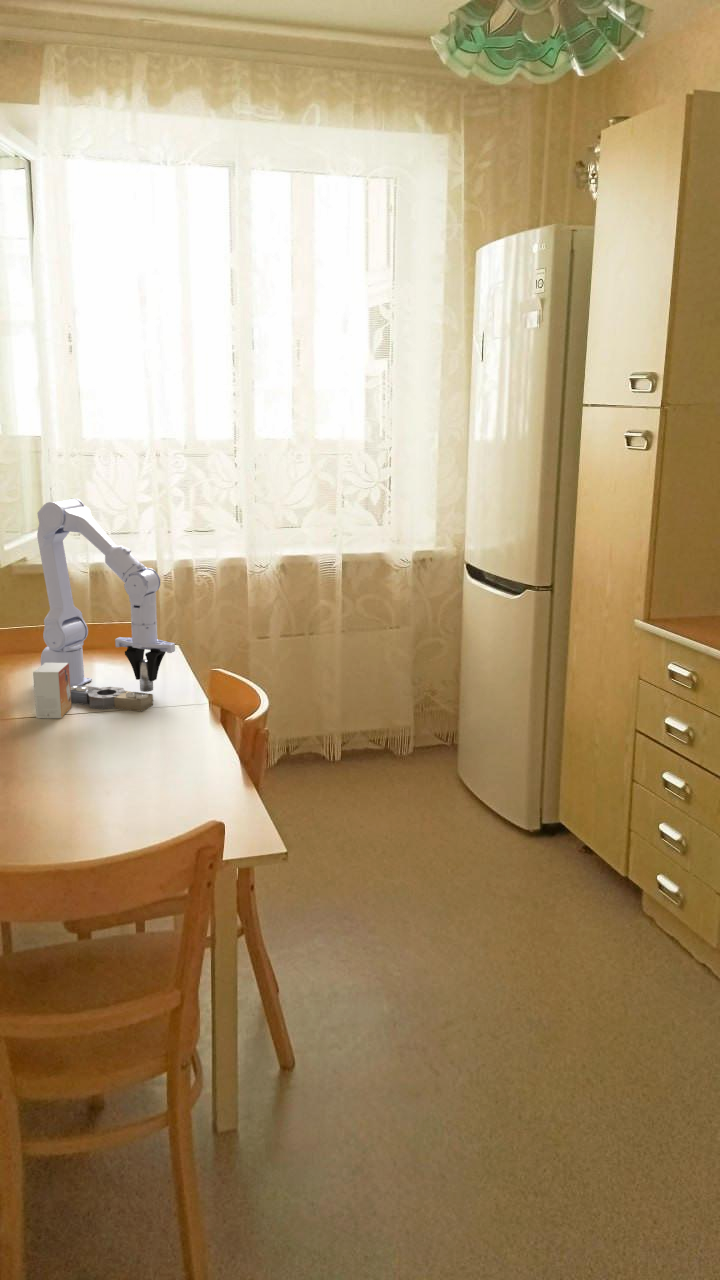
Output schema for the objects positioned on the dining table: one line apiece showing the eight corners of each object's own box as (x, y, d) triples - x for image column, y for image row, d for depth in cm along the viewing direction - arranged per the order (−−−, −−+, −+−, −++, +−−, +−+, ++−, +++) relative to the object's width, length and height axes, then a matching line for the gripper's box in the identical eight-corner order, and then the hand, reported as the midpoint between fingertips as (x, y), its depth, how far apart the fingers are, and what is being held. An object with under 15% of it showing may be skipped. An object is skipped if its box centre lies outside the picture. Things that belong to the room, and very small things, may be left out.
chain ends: (57, 703, 230) (56, 690, 229) (78, 693, 237) (77, 681, 237) (137, 713, 223) (137, 700, 223) (156, 703, 231) (156, 690, 230)
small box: (61, 719, 219) (58, 672, 217) (35, 718, 220) (32, 671, 217) (72, 707, 227) (69, 662, 225) (47, 707, 227) (44, 661, 225)
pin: (137, 690, 236) (136, 661, 234) (144, 687, 239) (143, 658, 237) (149, 692, 235) (147, 663, 233) (155, 688, 238) (154, 659, 236)
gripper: (106, 623, 231) (109, 680, 235) (163, 629, 227) (165, 687, 230) (123, 616, 238) (126, 672, 241) (178, 622, 233) (180, 679, 237)
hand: (146, 679), depth 236 cm, fingers closed on pin, 3 cm apart
